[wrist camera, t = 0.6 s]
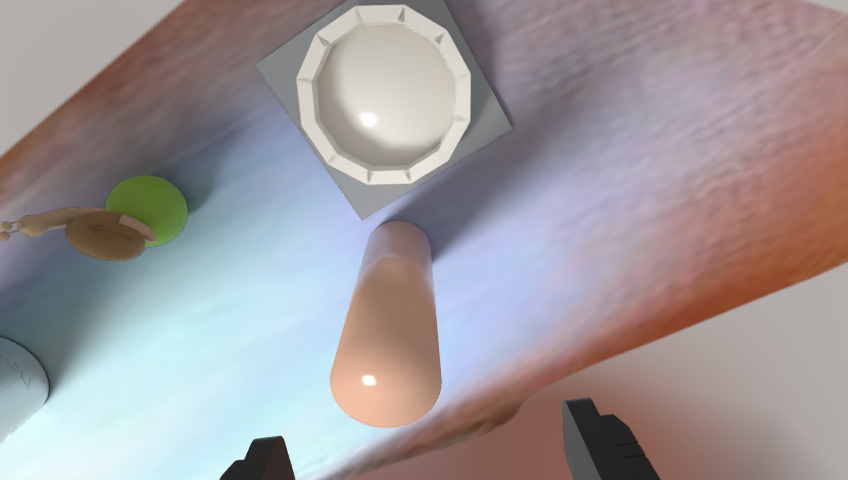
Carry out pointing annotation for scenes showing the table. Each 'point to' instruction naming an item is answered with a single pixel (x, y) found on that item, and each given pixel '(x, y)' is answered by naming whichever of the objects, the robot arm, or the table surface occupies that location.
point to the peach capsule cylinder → (390, 332)
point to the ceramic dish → (384, 94)
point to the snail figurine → (116, 220)
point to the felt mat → (480, 132)
